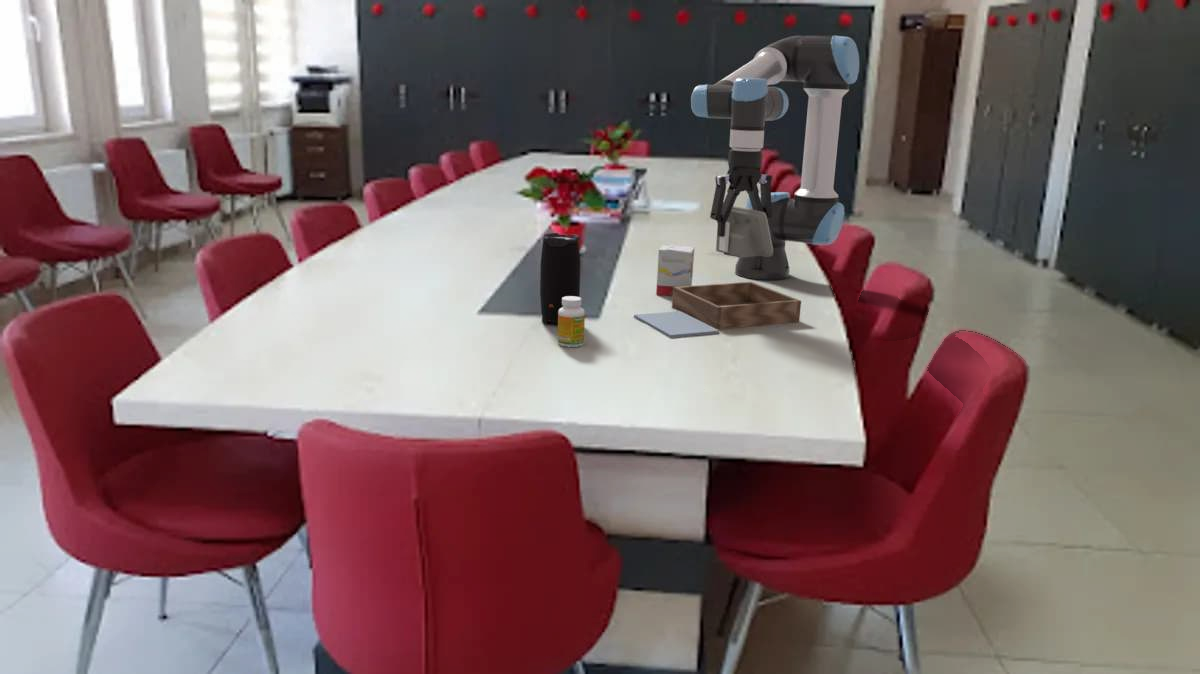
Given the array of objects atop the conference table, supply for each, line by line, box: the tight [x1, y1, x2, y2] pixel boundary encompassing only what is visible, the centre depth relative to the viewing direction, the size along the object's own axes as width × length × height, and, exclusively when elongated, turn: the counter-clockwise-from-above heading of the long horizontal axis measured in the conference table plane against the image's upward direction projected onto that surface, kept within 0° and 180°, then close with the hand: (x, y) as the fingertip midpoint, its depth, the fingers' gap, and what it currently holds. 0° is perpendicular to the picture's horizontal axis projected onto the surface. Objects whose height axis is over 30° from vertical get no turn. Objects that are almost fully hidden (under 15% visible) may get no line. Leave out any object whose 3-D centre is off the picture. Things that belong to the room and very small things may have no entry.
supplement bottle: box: [557, 296, 586, 348], centre depth 190 cm, size 5×5×10 cm
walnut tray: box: [671, 281, 802, 330], centre depth 219 cm, size 22×21×5 cm
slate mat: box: [633, 310, 720, 339], centre depth 208 cm, size 12×18×1 cm, turn 23°
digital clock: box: [715, 205, 773, 258], centre depth 214 cm, size 16×9×11 cm, turn 24°
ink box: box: [655, 244, 695, 297], centre depth 238 cm, size 9×9×12 cm
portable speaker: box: [539, 232, 581, 324], centre depth 205 cm, size 9×9×20 cm
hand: (739, 249), depth 216 cm, fingers closed on digital clock, 8 cm apart
